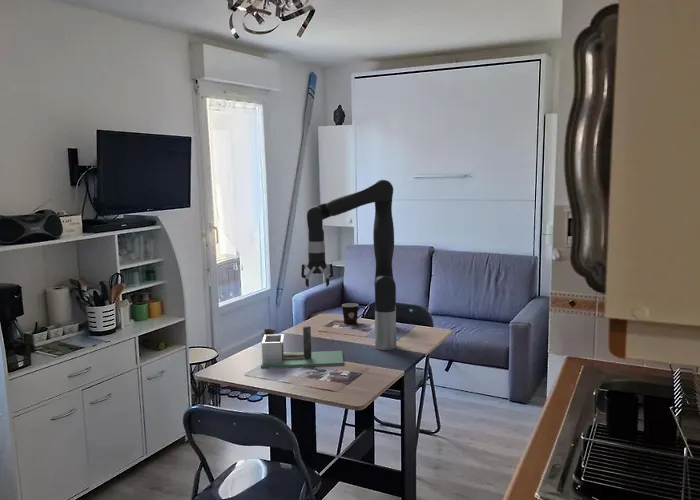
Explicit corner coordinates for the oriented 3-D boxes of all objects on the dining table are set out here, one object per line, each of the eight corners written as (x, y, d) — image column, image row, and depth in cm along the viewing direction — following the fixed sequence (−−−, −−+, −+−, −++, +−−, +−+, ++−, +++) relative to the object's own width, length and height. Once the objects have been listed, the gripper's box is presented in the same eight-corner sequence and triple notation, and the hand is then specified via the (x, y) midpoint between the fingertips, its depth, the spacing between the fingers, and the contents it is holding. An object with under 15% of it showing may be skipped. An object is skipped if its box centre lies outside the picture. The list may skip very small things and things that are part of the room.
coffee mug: (340, 325, 301) (339, 306, 300) (345, 321, 309) (344, 302, 308) (361, 326, 298) (361, 307, 296) (366, 322, 306) (365, 303, 305)
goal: (284, 354, 252) (284, 334, 251) (283, 363, 240) (282, 342, 239) (265, 354, 252) (264, 334, 251) (262, 364, 240) (261, 343, 239)
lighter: (260, 349, 262) (260, 328, 261) (265, 347, 265) (264, 326, 264) (275, 352, 259) (274, 330, 257) (280, 350, 262) (279, 328, 260)
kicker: (311, 354, 249) (310, 325, 248) (311, 358, 244) (310, 328, 243) (277, 355, 249) (276, 326, 247) (276, 359, 244) (275, 329, 242)
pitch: (341, 353, 256) (341, 350, 256) (343, 365, 240) (343, 362, 240) (264, 355, 254) (264, 353, 254) (261, 368, 238) (260, 365, 238)
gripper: (300, 252, 255) (301, 288, 257) (332, 251, 256) (333, 287, 258) (300, 250, 262) (301, 285, 264) (332, 249, 263) (333, 284, 265)
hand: (317, 286), depth 261 cm, fingers open, 8 cm apart
